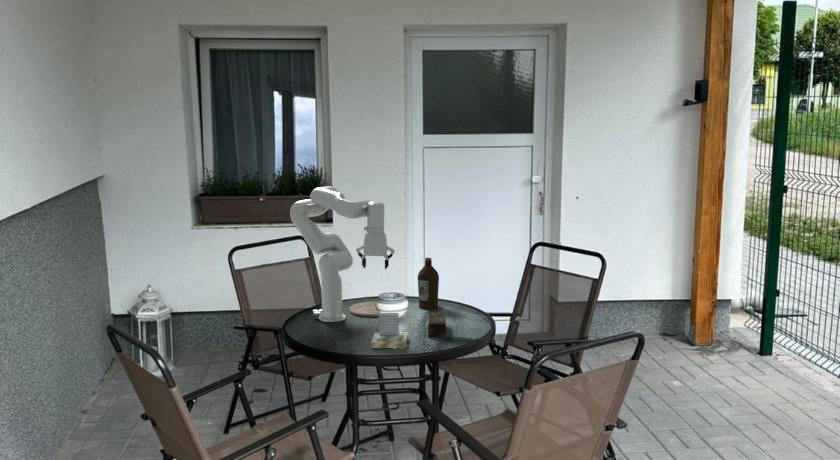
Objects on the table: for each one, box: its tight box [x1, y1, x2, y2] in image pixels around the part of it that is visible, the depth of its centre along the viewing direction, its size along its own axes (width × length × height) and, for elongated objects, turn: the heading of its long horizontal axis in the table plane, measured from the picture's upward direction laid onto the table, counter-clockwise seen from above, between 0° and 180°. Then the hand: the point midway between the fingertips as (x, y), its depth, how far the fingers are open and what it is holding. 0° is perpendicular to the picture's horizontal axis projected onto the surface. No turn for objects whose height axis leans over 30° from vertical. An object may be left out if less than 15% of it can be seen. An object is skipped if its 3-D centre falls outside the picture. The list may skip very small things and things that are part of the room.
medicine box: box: [378, 313, 400, 336], centre depth 306 cm, size 8×4×9 cm, turn 85°
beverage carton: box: [427, 312, 447, 339], centre depth 324 cm, size 8×19×7 cm, turn 179°
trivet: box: [348, 301, 380, 318], centre depth 360 cm, size 25×25×2 cm
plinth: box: [370, 330, 409, 350], centre depth 307 cm, size 14×14×4 cm
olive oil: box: [417, 257, 440, 310], centre depth 365 cm, size 11×11×25 cm
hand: (375, 267), depth 327 cm, fingers open, 9 cm apart
